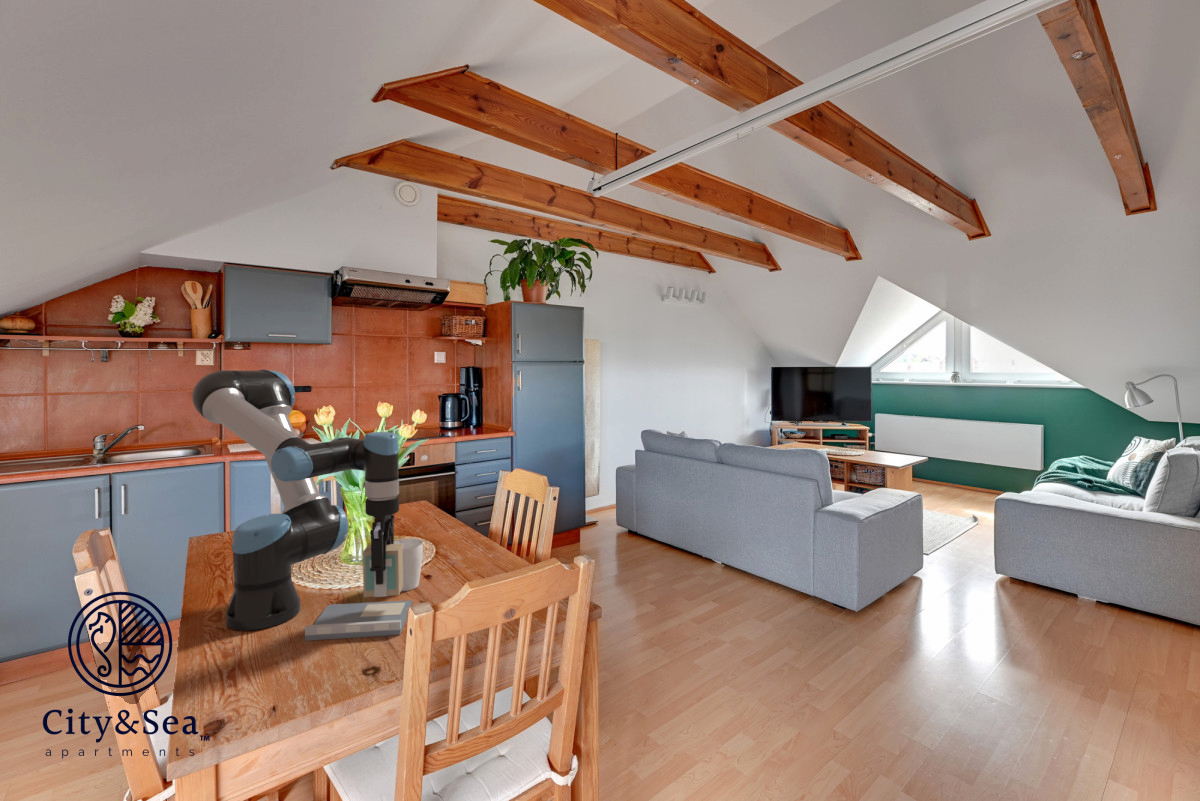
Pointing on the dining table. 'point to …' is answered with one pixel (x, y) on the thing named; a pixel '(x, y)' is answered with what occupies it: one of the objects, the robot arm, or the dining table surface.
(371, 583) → the tea box
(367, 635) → the grey flat rectangular block
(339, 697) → the dining table surface
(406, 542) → the cup
